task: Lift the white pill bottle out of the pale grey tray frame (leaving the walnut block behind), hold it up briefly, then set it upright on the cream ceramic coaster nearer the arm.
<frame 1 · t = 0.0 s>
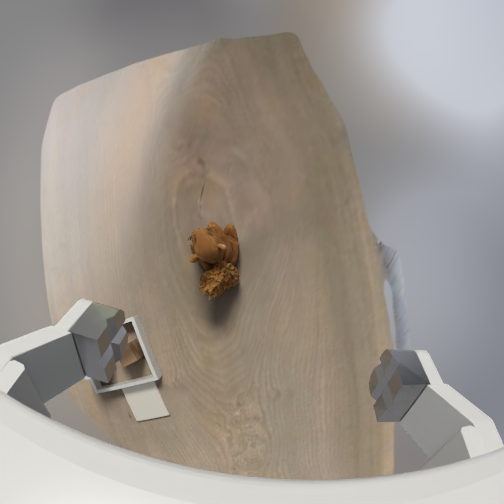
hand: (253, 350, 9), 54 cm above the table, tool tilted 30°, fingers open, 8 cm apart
stuffed squirrel: (219, 260, 63), on the table
coaster: (145, 401, 61), on the table
tray frame: (117, 354, 62), on the table
walnut block: (134, 350, 62), resting in tray frame
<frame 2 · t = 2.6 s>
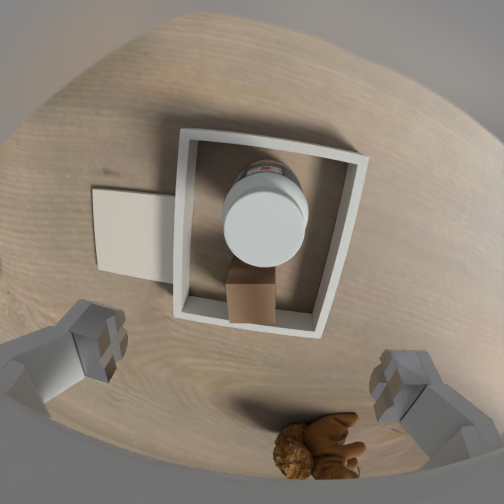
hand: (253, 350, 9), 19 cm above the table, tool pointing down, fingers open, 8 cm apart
stuffed squirrel: (315, 426, 40), on the table
coaster: (134, 234, 29), on the table
tray frame: (261, 233, 28), on the table
walnut block: (255, 275, 30), resting in tray frame
pill bottle: (267, 190, 26), resting in tray frame
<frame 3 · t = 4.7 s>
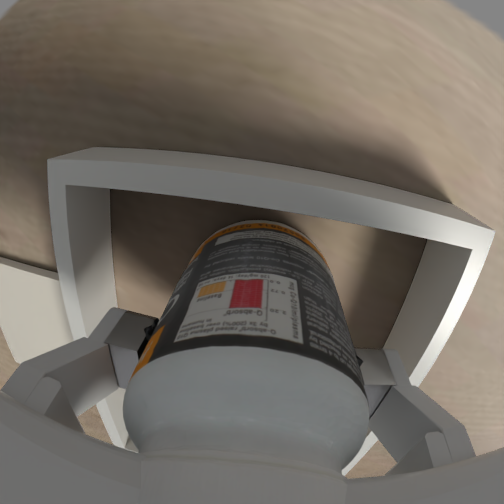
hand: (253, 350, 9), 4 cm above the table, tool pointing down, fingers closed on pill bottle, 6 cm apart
coaster: (43, 328, 15), on the table
tray frame: (247, 354, 14), on the table
pill bottle: (260, 280, 12), resting in tray frame, touching gripper
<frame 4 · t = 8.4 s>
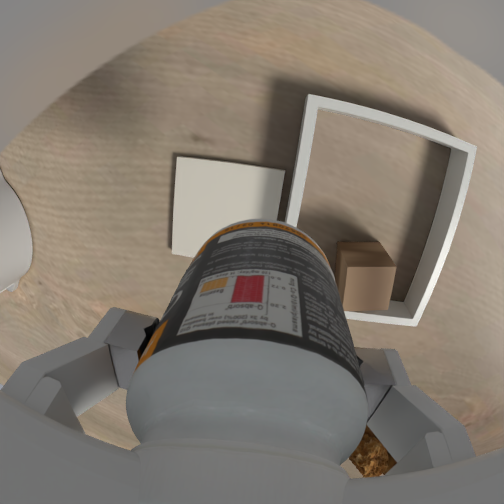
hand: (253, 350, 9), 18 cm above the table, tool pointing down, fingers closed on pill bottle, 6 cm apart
stuffed squirrel: (380, 423, 37), on the table
coaster: (224, 212, 26), on the table
tray frame: (369, 216, 25), on the table
walnut block: (356, 261, 27), resting in tray frame
pill bottle: (262, 279, 13), point 14 cm above the table, touching gripper
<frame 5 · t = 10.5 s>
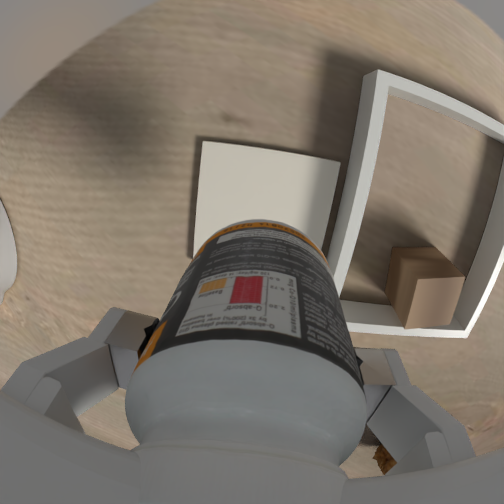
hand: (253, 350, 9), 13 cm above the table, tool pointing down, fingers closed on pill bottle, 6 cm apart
stuffed squirrel: (410, 434, 33), on the table
coaster: (262, 213, 21), on the table
tray frame: (427, 218, 20), on the table
walnut block: (410, 269, 22), resting in tray frame
pill bottle: (261, 279, 13), point 9 cm above the table, touching gripper
when the fingers open (6 cm above the table, at t = 12.3 s): pill bottle stays where it is, resting on coaster.
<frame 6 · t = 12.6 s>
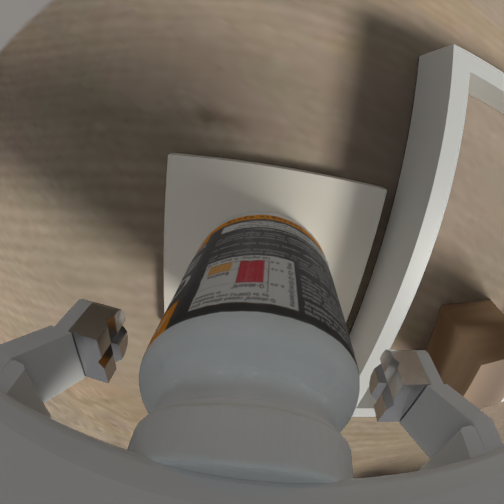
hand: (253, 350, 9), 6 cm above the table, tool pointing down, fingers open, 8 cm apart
coaster: (263, 264, 14), on the table
tray frame: (489, 264, 13), on the table
walnut block: (457, 329, 15), resting in tray frame
pill bottle: (262, 269, 13), resting on coaster
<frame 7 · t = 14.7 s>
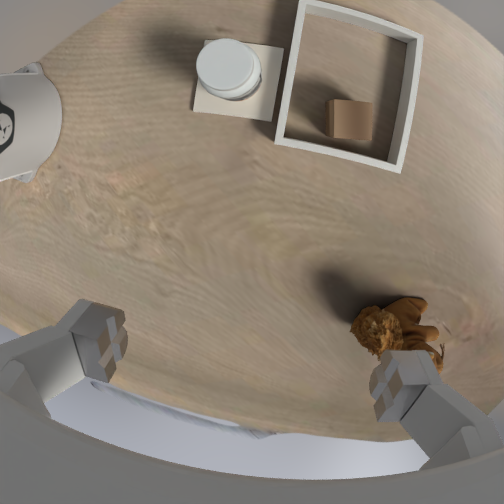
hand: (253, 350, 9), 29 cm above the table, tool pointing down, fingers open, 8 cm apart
stuffed squirrel: (385, 316, 42), on the table
coaster: (238, 79, 30), on the table
tray frame: (349, 84, 29), on the table
walnut block: (342, 119, 31), resting in tray frame
pill bottle: (237, 78, 30), resting on coaster
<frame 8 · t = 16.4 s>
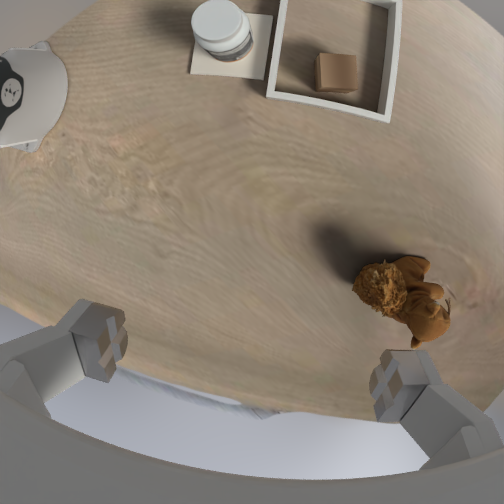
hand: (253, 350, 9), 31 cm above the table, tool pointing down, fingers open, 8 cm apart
stuffed squirrel: (387, 277, 42), on the table
coaster: (231, 44, 30), on the table
tray frame: (335, 45, 29), on the table
walnut block: (330, 77, 31), resting in tray frame
pill bottle: (231, 43, 30), resting on coaster
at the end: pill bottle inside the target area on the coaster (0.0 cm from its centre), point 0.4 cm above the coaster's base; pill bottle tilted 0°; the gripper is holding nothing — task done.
